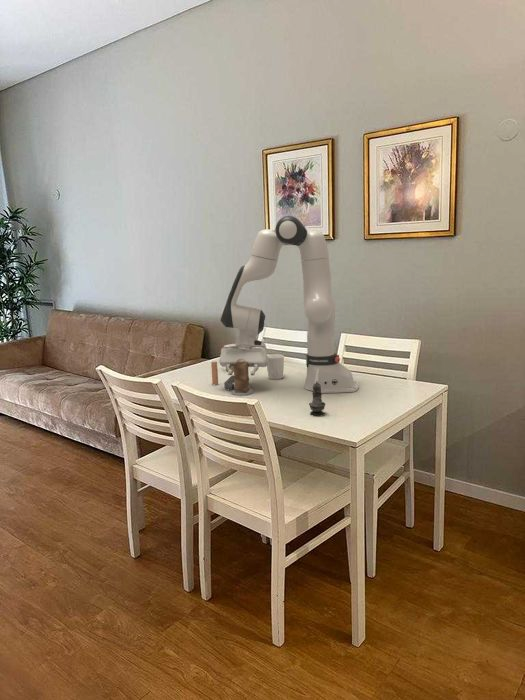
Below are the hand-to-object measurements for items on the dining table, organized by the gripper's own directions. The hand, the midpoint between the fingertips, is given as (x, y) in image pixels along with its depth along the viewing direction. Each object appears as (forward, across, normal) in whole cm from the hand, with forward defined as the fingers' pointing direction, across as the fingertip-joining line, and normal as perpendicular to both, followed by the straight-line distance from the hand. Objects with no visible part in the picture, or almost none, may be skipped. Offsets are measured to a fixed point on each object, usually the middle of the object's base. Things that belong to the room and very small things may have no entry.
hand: (241, 374), depth 213 cm
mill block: (+5, 0, +5) cm, 7 cm away
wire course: (-2, -9, +13) cm, 16 cm away
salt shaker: (+22, +33, -11) cm, 41 cm away
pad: (+5, 0, +6) cm, 8 cm away
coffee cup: (-21, -14, +32) cm, 41 cm away
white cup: (-12, +9, +23) cm, 28 cm away
